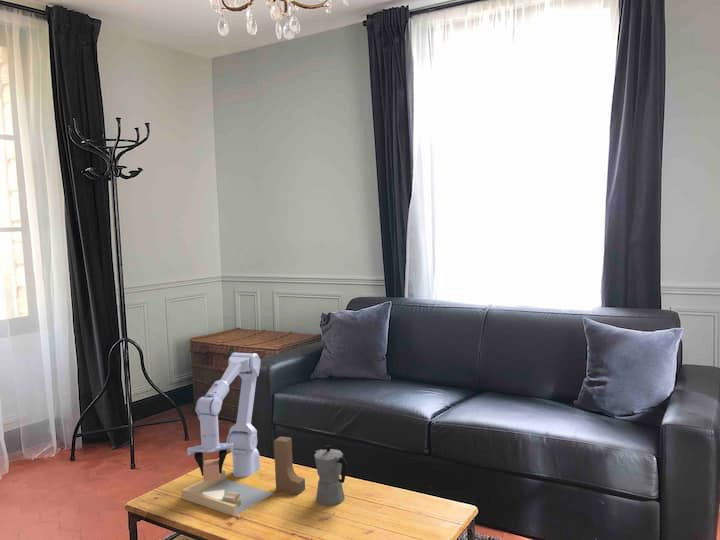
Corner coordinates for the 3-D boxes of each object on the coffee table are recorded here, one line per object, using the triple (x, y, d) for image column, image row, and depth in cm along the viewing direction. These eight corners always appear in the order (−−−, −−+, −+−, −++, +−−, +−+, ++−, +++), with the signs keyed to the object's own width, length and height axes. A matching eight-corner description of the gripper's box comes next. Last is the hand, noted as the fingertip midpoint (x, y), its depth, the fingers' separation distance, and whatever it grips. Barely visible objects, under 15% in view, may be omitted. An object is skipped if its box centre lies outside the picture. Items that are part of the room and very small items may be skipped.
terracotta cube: (204, 475, 197) (204, 460, 197) (220, 473, 198) (219, 458, 198) (203, 481, 193) (202, 466, 192) (219, 479, 193) (218, 464, 193)
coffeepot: (306, 497, 194) (304, 444, 193) (328, 488, 200) (326, 436, 199) (337, 513, 183) (334, 456, 181) (359, 503, 189) (357, 448, 188)
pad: (202, 492, 199) (202, 492, 199) (224, 490, 200) (224, 489, 200) (201, 501, 192) (201, 501, 192) (223, 499, 193) (223, 498, 193)
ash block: (229, 503, 190) (229, 491, 190) (240, 504, 189) (240, 492, 188) (223, 509, 186) (222, 496, 186) (234, 510, 185) (233, 498, 185)
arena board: (223, 480, 210) (222, 470, 209) (274, 495, 196) (273, 484, 196) (182, 500, 195) (181, 489, 195) (234, 518, 181) (233, 506, 181)
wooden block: (305, 491, 199) (303, 438, 198) (299, 496, 195) (296, 443, 194) (282, 487, 203) (280, 435, 201) (275, 492, 199) (273, 440, 197)
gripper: (185, 439, 189) (188, 480, 190) (232, 435, 192) (234, 475, 193) (187, 432, 196) (189, 472, 197) (232, 428, 199) (234, 467, 200)
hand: (211, 473), depth 195 cm, fingers closed on terracotta cube, 5 cm apart
